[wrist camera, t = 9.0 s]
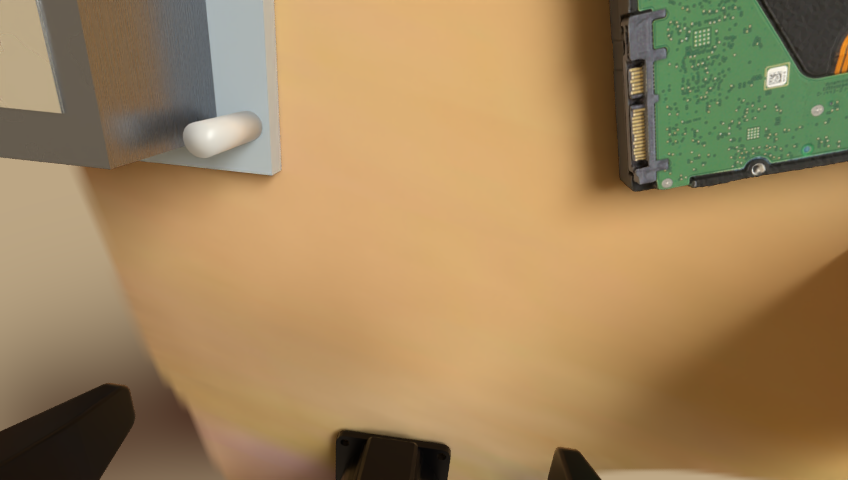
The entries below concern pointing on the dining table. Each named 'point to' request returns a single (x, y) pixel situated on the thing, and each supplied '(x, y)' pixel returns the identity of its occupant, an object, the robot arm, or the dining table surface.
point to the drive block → (102, 79)
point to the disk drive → (728, 88)
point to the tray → (237, 94)
